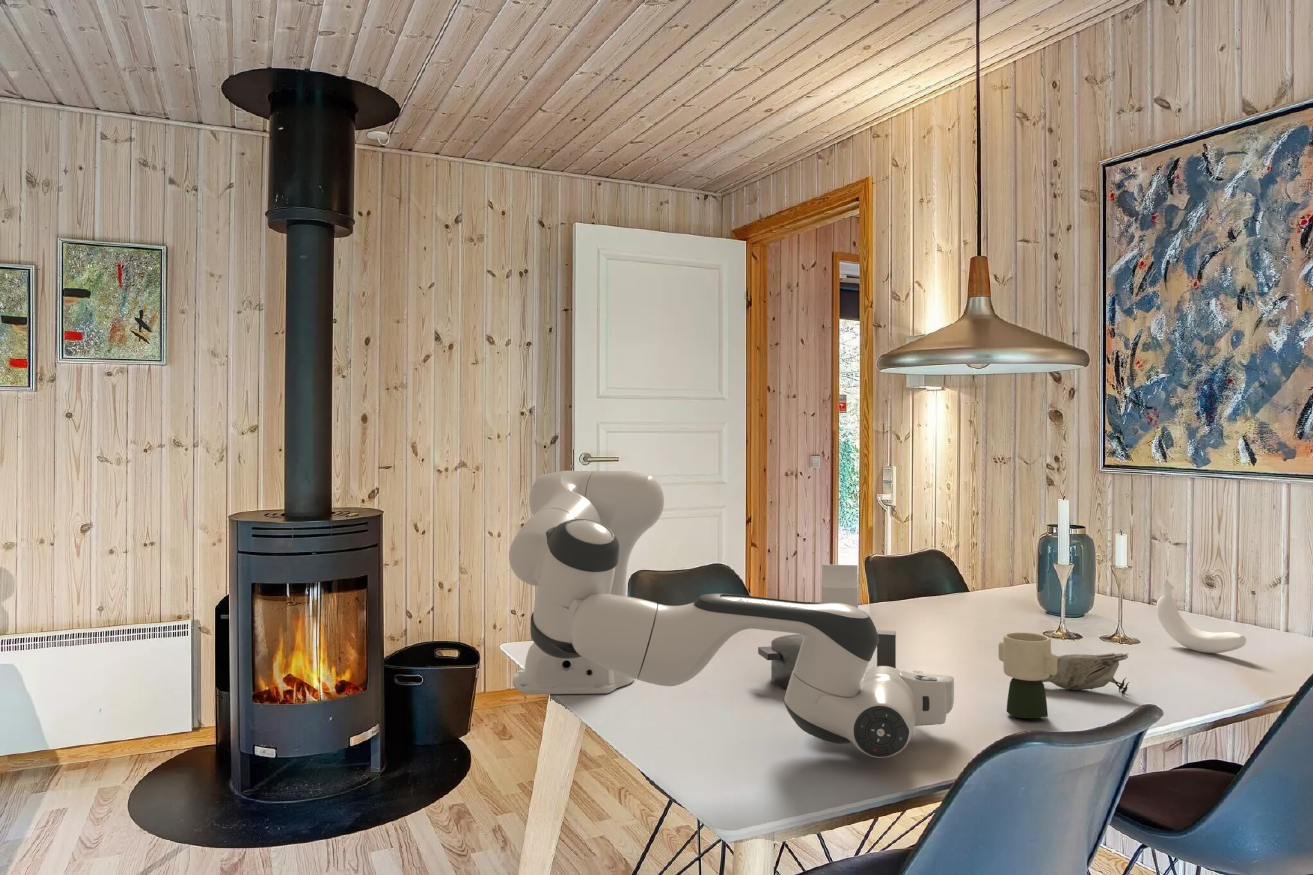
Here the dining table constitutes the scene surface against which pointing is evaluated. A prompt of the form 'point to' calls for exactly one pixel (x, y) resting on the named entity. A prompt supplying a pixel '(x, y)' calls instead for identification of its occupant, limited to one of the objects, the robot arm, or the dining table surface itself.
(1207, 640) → the banana
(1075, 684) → the decorative bird
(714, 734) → the dining table surface
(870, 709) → the robot arm
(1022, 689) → the character mug
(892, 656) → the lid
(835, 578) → the milk carton
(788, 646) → the pot
